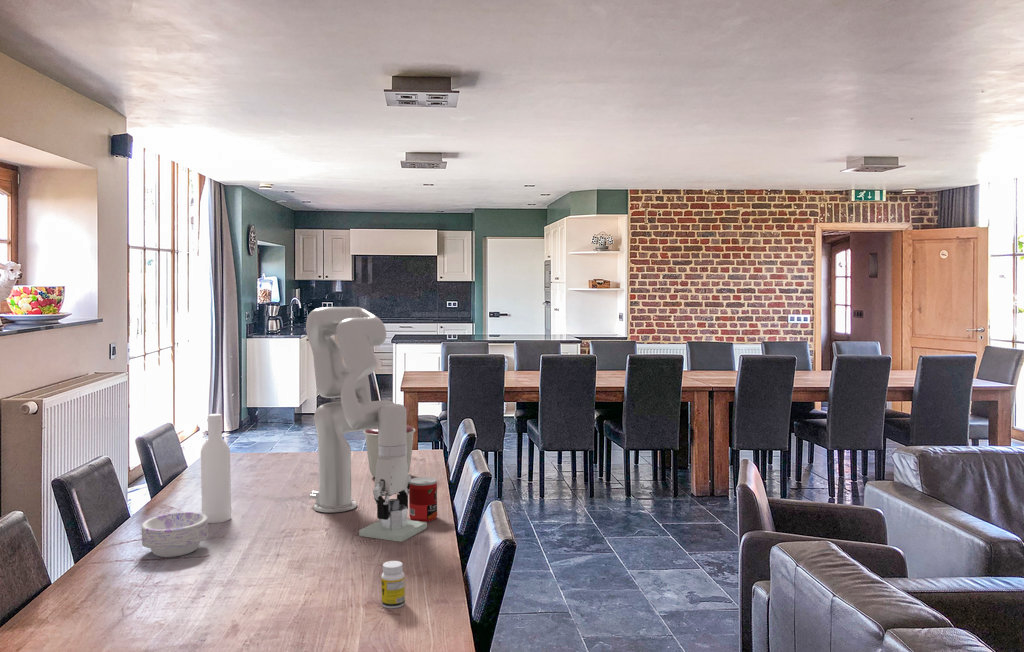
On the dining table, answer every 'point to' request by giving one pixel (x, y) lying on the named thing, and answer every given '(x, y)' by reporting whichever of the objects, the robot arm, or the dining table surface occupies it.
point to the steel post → (393, 504)
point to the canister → (373, 447)
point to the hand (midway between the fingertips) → (392, 513)
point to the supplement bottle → (393, 585)
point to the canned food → (423, 499)
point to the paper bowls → (174, 533)
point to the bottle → (215, 473)
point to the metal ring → (395, 519)
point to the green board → (393, 531)
